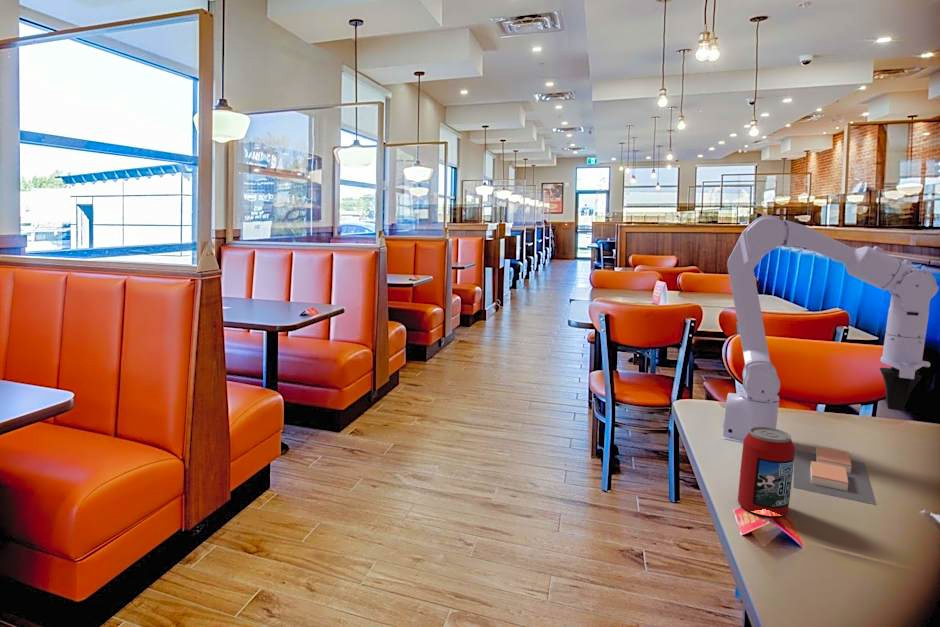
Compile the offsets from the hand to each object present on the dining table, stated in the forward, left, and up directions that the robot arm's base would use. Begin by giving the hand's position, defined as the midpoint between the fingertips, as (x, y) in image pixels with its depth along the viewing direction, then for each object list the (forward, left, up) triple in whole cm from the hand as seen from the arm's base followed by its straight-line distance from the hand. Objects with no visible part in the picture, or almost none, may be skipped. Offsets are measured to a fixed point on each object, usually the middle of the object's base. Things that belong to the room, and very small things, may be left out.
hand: (894, 409), depth 104 cm
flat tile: (-9, -8, -10) cm, 15 cm away
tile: (-10, -20, -9) cm, 24 cm away
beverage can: (-19, -34, -10) cm, 40 cm away
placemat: (-10, -14, -10) cm, 20 cm away
